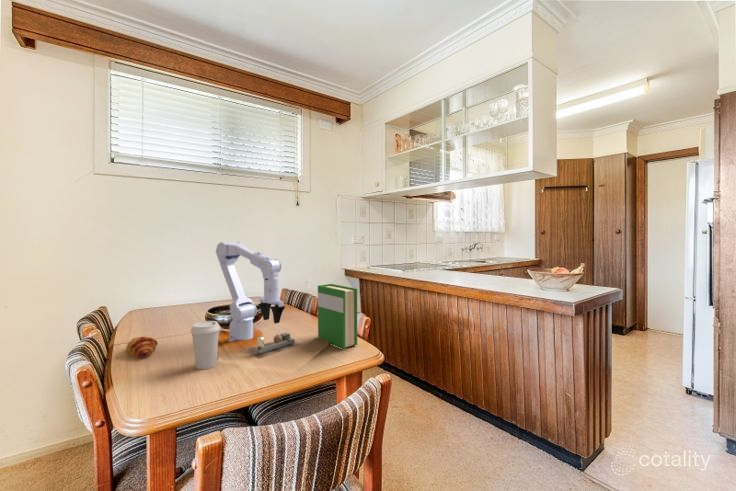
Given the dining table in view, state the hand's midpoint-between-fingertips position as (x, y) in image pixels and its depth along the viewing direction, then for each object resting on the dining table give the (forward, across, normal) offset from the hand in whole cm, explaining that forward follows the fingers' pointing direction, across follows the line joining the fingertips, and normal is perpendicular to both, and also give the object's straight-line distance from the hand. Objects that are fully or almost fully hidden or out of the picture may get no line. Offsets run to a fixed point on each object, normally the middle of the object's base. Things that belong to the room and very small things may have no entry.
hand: (271, 321), depth 136 cm
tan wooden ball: (+9, +2, +1) cm, 10 cm away
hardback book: (+10, +18, +20) cm, 29 cm away
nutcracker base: (+10, +5, -3) cm, 12 cm away
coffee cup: (+11, 0, -27) cm, 29 cm away
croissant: (+11, -33, -37) cm, 51 cm away
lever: (+9, +8, -3) cm, 12 cm away
